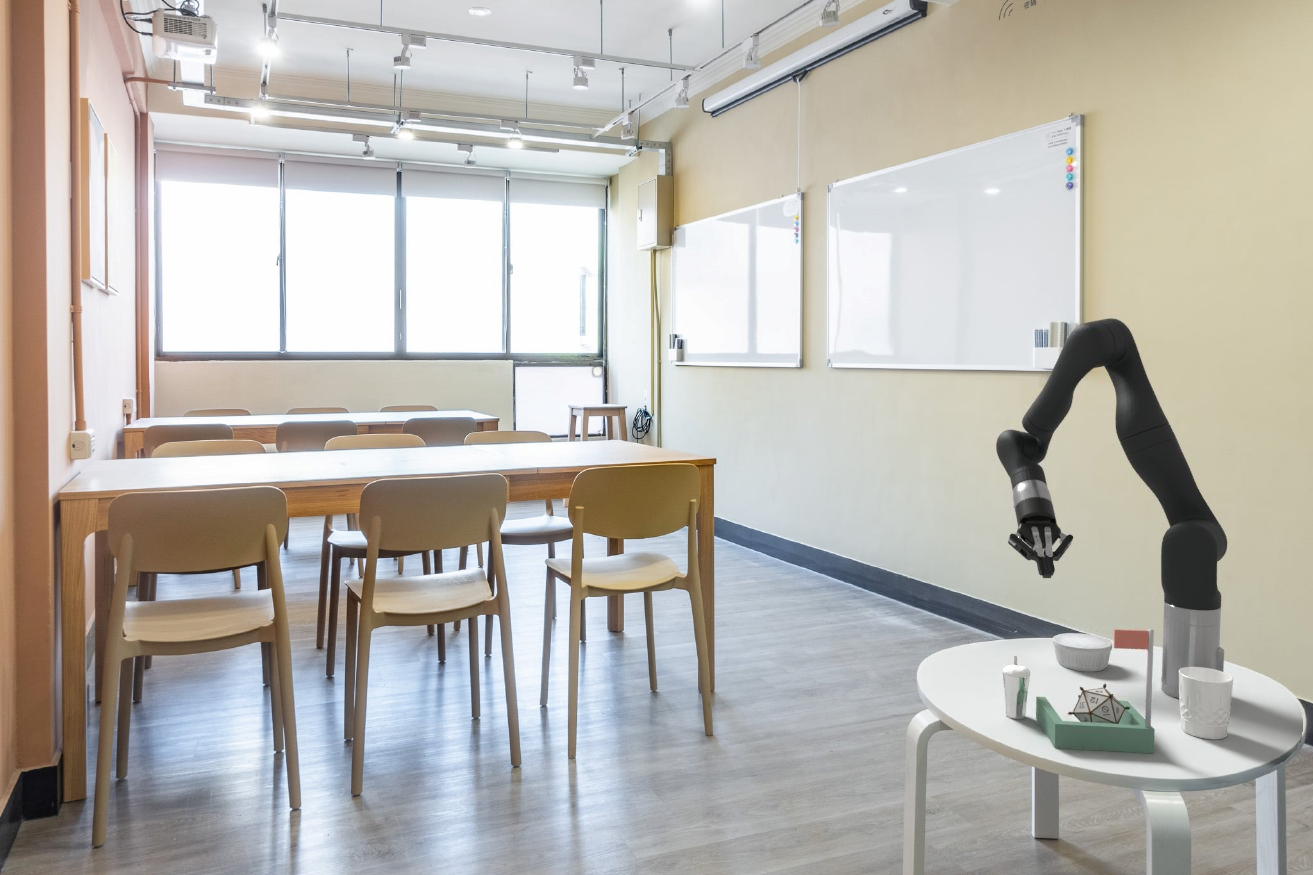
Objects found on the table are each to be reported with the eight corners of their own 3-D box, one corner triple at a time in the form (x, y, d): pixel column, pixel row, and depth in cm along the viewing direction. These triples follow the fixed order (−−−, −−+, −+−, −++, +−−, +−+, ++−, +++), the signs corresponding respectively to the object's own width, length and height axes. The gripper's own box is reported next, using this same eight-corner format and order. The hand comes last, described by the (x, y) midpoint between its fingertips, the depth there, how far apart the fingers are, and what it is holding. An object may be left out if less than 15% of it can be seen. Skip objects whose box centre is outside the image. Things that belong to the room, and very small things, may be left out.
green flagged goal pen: (1126, 723, 156) (1130, 610, 155) (1153, 753, 144) (1157, 631, 142) (1035, 718, 159) (1038, 607, 157) (1054, 747, 146) (1057, 627, 145)
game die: (1096, 750, 154) (1109, 695, 158) (1132, 751, 146) (1145, 694, 150) (1052, 726, 153) (1066, 672, 157) (1086, 726, 145) (1101, 669, 149)
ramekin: (1042, 664, 188) (1043, 640, 187) (1065, 653, 195) (1066, 629, 195) (1098, 678, 179) (1099, 652, 179) (1119, 665, 187) (1120, 640, 187)
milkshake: (1028, 711, 162) (1029, 657, 161) (1030, 722, 157) (1031, 666, 156) (1001, 708, 164) (1002, 654, 163) (1002, 719, 159) (1003, 663, 158)
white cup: (1231, 745, 147) (1233, 685, 146) (1175, 735, 151) (1177, 677, 150) (1230, 728, 153) (1233, 671, 153) (1177, 719, 158) (1179, 664, 157)
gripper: (1003, 495, 189) (1016, 565, 178) (1070, 495, 187) (1087, 566, 175) (998, 516, 194) (1009, 585, 183) (1062, 517, 192) (1078, 586, 181)
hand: (1047, 576), depth 179 cm, fingers closed
